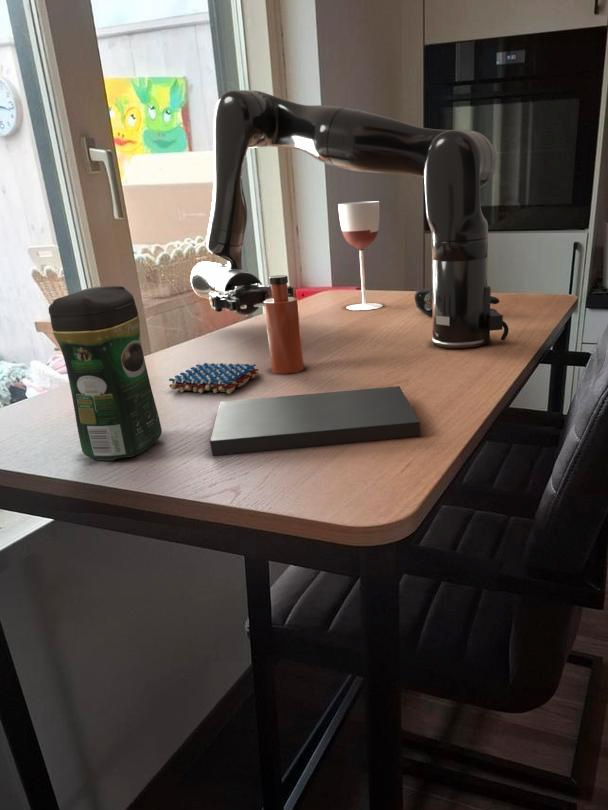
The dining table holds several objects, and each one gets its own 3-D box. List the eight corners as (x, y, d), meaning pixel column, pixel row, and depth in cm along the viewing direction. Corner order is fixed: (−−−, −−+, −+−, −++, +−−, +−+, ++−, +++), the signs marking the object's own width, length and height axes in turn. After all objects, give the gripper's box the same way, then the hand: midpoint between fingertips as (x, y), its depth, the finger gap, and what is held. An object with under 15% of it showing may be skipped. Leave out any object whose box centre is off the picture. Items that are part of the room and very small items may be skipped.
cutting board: (400, 398, 95) (399, 385, 94) (420, 436, 81) (420, 421, 80) (222, 414, 93) (220, 401, 92) (212, 455, 79) (209, 441, 79)
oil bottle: (303, 364, 115) (294, 273, 109) (304, 372, 110) (295, 277, 104) (271, 366, 114) (261, 275, 109) (271, 375, 110) (260, 280, 104)
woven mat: (232, 395, 101) (230, 381, 100) (167, 392, 104) (165, 379, 103) (262, 375, 110) (260, 362, 109) (202, 373, 113) (200, 361, 112)
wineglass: (389, 302, 162) (384, 200, 153) (376, 310, 154) (370, 203, 145) (353, 302, 165) (347, 202, 156) (339, 310, 156) (331, 205, 147)
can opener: (409, 317, 144) (409, 290, 142) (420, 311, 150) (419, 284, 148) (494, 319, 138) (495, 290, 136) (502, 312, 144) (503, 284, 141)
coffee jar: (114, 433, 89) (81, 282, 81) (172, 434, 87) (144, 280, 79) (70, 462, 80) (29, 297, 72) (133, 464, 78) (98, 295, 71)
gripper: (197, 274, 126) (218, 284, 113) (272, 266, 131) (301, 275, 118) (203, 316, 130) (224, 331, 116) (276, 306, 135) (305, 320, 121)
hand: (263, 303), depth 117 cm, fingers open, 8 cm apart
